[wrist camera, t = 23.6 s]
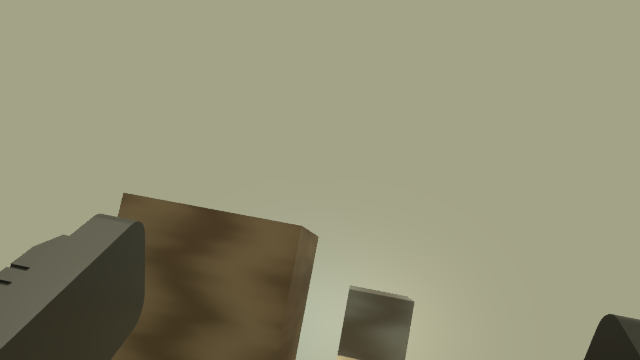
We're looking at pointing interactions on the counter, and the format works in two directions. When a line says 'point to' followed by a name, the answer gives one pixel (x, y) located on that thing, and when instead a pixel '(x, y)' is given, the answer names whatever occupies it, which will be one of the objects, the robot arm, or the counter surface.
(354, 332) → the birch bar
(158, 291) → the walnut step stand
